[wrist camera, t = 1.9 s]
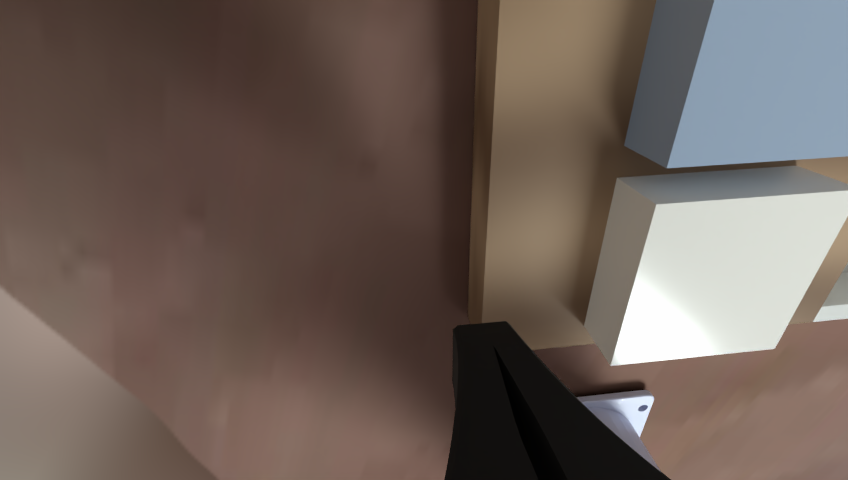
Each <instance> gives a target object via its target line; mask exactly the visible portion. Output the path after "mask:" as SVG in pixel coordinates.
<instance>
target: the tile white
mask: <svg viewBox="0 0 848 480" xmlns="http://www.w3.org/2000/svg"><path fill="white" fill-rule="evenodd" d="M847 217H848V184H846V183H844V182H841V181H838V180H835V179H833V178H830V177H827V176H824V175H821V174H819V173H816V172H813V171H810V170H808V169H805V168H802V167H799V166H783V167H768V168H753V169H738V170H723V171H708V172H694V173H679V174H664V175H649V176H634V177H620V178H617V180H616V184H615V189H614V193H613V198H612V202H611V207H610V211H609V216H608V220H607V225H606V229H605V234H604V238H603V243H602V247H601V252H600V256H599V261H598V265H597V270H596V274H595V279H594V283H593V288H592V292H591V297H590V301H589V306H588V310H587V315H586V319H585V324H584V327H585V328H586V330H587V331H588V333H589V334H590V336H591V337H592V339H593V340H594V342H595V343H596V345H597V346H598V348H599V349H600V351H601V352H602V354H603V355H604V357H605V358H606V360H607V361H608V363H609V364H610V366H614V365H624V364H633V363H643V362H652V361H662V360H671V359H681V358H691V357H700V356H710V355H719V354H729V353H738V352H748V351H757V350H767V349H775V347H776V345H777V343H778V342H779V340H780V338H781V336H782V334H783V333H784V331H785V329H786V327H787V325H788V323H789V322H790V320H791V318H792V316H793V314H794V313H795V311H796V309H797V307H798V305H799V304H800V302H801V300H802V298H803V296H804V295H805V293H806V291H807V289H808V287H809V285H810V284H811V282H812V280H813V278H814V276H815V275H816V273H817V271H818V269H819V267H820V266H821V264H822V262H823V260H824V258H825V257H826V255H827V253H828V251H829V249H830V247H831V246H832V244H833V242H834V240H835V238H836V237H837V235H838V233H839V231H840V229H841V228H842V226H843V224H844V222H845V220H846V219H847Z"/></svg>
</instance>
